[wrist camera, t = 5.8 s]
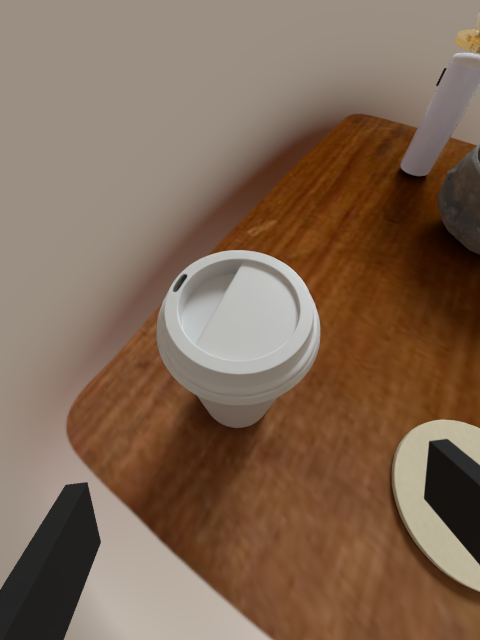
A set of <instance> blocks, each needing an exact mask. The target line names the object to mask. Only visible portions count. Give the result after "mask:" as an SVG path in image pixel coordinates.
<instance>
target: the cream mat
mask: <svg viewBox="0 0 480 640" xmlns="http://www.w3.org/2000/svg"><path fill="white" fill-rule="evenodd" d="M441 439H448V440H450V441H451V442H452V443H453V444H455V445H456V446H457V447H458V448H459V449H461V450H462V451H463V452H464V453H466V454H467V455H468V456H469V457H471V458H472V459H473V460H474V461H475V462H477V463H478V464H479V465H480V429H479V428H477V427H475V426H472V425H469V424H466V423H463V422H458V421H453V420H436V421H431V422H427V423H424V424H422V425H419V426H417V427H416V428H414V429H412V430H411V431H410V432H409V433H408V434H406V435H405V437H404V438H403V439H402V440H401V442H400V444H399V445H398V447H397V449H396V452H395V455H394V458H393V463H392V473H391V477H392V489H393V495H394V499H395V502H396V506H397V509H398V511H399V514H400V517H401V519H402V521H403V523H404V525H405V527H406V529H407V531H408V532H409V534H410V536H411V537H412V539H413V540H414V542H415V543H416V544H417V546H418V547H419V548H420V550H421V551H422V552H423V553H424V554H425V555H426V557H427V558H428V559H429V560H430V561H431V562H432V563H433V564H434V565H435V566H437V567H438V568H439V569H440V570H441V571H442V572H444V573H445V574H446V575H448V576H449V577H451V578H452V579H453V580H455V581H457V582H459V583H461V584H462V585H464V586H466V587H469V588H471V589H474V590H476V591H479V592H480V565H479V564H478V563H477V561H476V560H475V559H474V558H473V557H472V555H471V554H470V553H469V552H468V551H467V550H466V548H465V547H464V546H463V545H462V544H461V542H460V541H459V540H458V539H457V538H456V536H455V535H454V534H453V533H452V532H451V531H450V529H449V528H448V527H447V526H446V525H445V523H444V522H443V521H442V520H441V519H440V517H439V516H438V515H437V514H436V513H435V512H434V510H433V509H432V508H431V507H430V506H429V504H428V503H427V502H426V501H425V500H424V491H425V480H426V469H427V458H428V447H429V441H433V440H441Z"/></svg>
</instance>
